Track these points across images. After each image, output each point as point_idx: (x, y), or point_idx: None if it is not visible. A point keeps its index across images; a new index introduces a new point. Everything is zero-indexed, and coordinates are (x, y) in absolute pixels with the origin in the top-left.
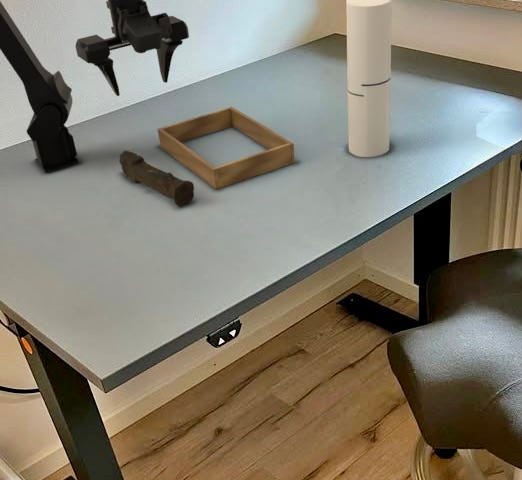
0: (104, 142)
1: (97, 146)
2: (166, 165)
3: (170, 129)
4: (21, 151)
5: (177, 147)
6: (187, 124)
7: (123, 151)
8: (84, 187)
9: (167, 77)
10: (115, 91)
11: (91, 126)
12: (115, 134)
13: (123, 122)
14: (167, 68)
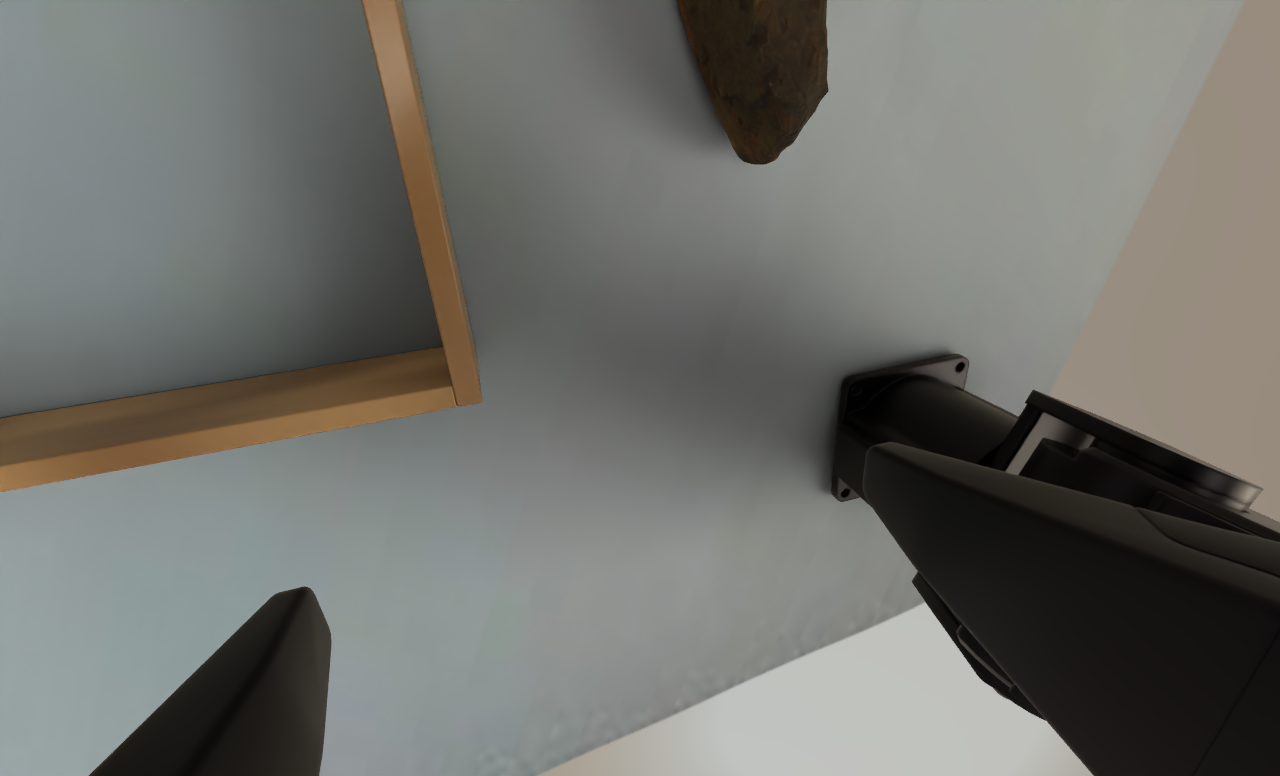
0: (688, 525)
1: (724, 500)
2: (511, 96)
3: (394, 387)
4: None
5: (414, 78)
6: (256, 411)
7: (806, 101)
8: (926, 119)
9: (240, 635)
10: (944, 456)
11: (677, 672)
12: (624, 579)
13: (559, 672)
14: (146, 758)
